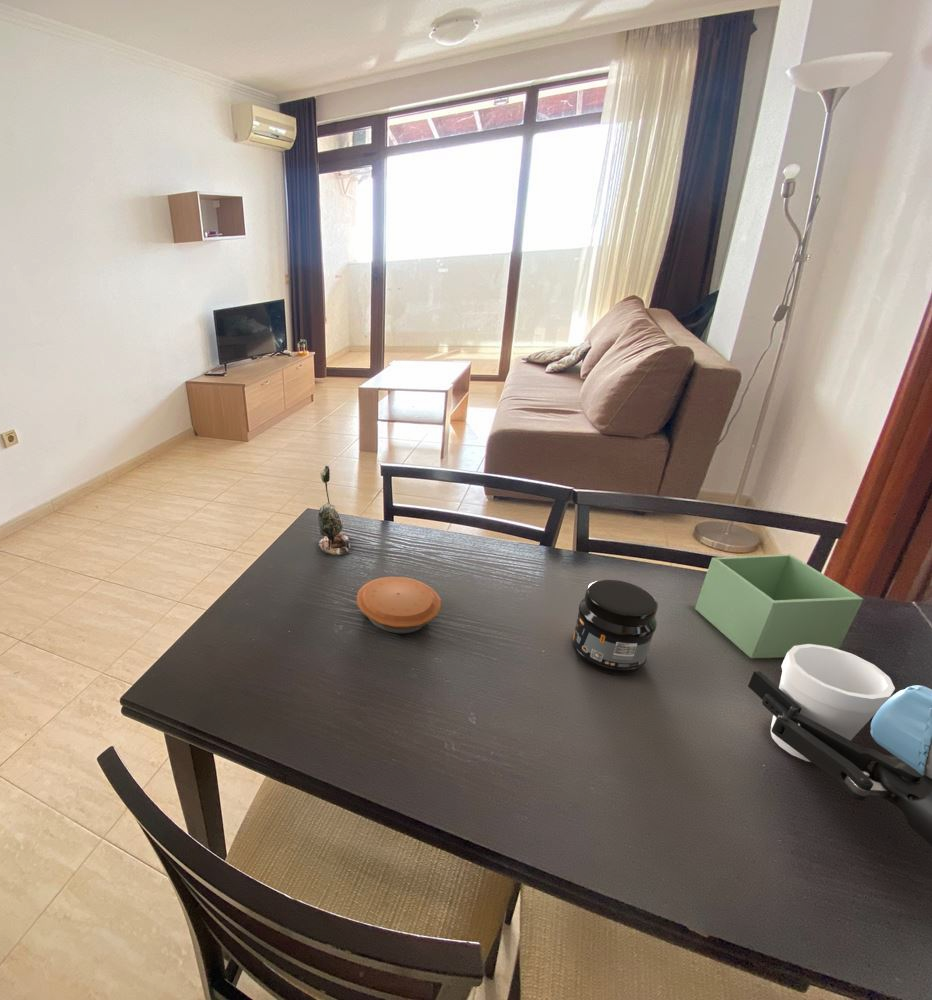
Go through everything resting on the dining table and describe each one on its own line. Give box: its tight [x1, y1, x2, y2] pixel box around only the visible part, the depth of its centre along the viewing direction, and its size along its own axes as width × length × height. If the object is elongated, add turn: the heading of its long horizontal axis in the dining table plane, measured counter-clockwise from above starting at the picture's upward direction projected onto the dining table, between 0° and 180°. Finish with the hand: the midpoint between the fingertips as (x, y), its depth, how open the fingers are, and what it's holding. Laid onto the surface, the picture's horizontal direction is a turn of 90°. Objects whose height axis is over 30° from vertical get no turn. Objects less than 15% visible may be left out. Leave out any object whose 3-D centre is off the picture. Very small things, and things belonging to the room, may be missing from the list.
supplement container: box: [571, 579, 659, 676], centre depth 87 cm, size 10×10×12 cm
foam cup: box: [770, 644, 896, 763], centre depth 69 cm, size 10×9×13 cm
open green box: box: [694, 553, 864, 659], centre depth 89 cm, size 13×13×11 cm
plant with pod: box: [317, 465, 352, 556], centre depth 123 cm, size 8×11×20 cm
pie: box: [356, 576, 442, 634], centre depth 102 cm, size 15×16×5 cm
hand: (792, 677), depth 73 cm, fingers closed on foam cup, 9 cm apart
